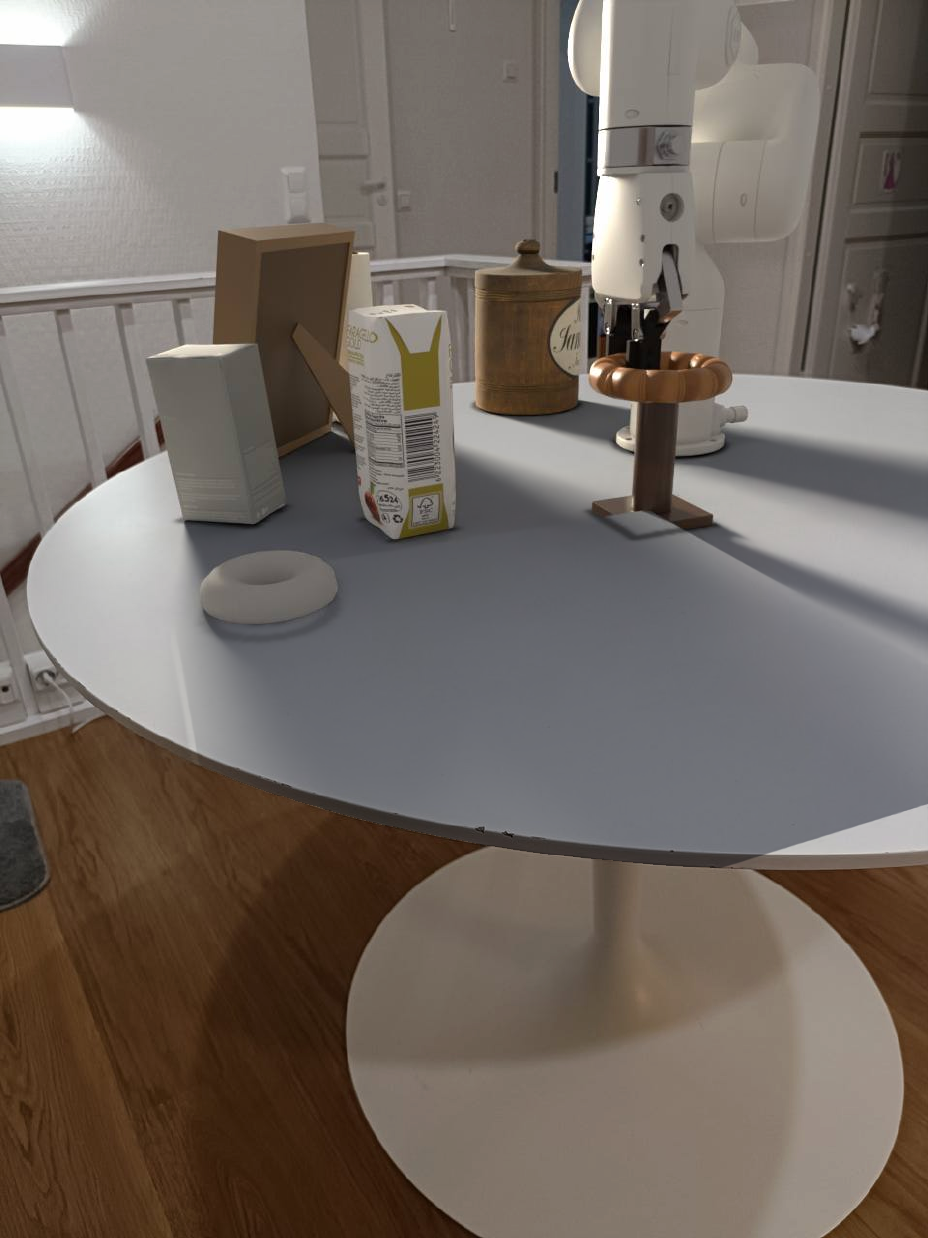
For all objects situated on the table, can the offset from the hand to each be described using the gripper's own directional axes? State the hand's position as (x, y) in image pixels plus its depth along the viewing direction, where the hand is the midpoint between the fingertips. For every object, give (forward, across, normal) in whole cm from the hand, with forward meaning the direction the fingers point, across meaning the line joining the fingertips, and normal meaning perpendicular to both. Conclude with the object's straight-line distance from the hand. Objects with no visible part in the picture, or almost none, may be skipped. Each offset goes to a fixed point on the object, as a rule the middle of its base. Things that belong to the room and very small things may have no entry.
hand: (631, 380), depth 80 cm
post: (+12, -5, 0) cm, 13 cm away
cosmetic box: (+12, +13, +36) cm, 40 cm away
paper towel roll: (+12, +47, +15) cm, 51 cm away
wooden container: (+12, +45, -10) cm, 48 cm away
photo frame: (+12, +32, +24) cm, 42 cm away
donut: (+12, -11, +36) cm, 39 cm away
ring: (-1, -5, 0) cm, 5 cm away
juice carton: (+12, +3, +21) cm, 24 cm away
